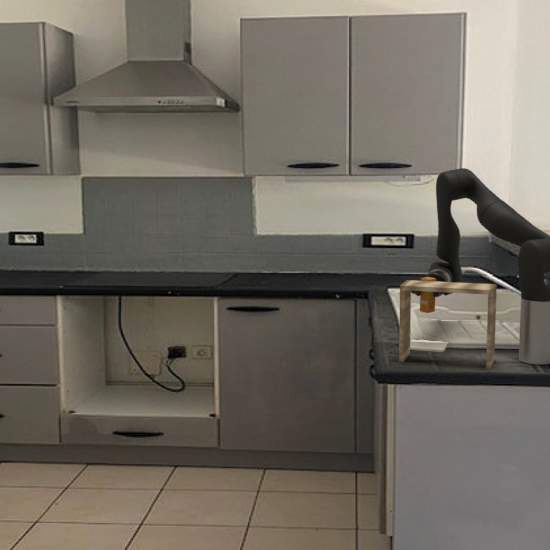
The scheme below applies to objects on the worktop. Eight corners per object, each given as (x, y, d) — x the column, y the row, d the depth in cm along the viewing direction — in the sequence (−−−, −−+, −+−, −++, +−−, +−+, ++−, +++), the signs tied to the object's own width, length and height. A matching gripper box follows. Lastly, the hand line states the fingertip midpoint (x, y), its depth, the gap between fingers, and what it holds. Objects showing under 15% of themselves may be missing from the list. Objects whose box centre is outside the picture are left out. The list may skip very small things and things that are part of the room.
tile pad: (449, 343, 247) (449, 341, 247) (443, 352, 237) (443, 350, 237) (412, 340, 251) (412, 338, 251) (404, 349, 240) (404, 347, 240)
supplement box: (428, 313, 240) (428, 279, 238) (419, 311, 242) (419, 277, 241) (436, 311, 242) (436, 277, 240) (427, 309, 244) (427, 276, 243)
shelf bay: (494, 360, 227) (496, 284, 224) (490, 369, 219) (493, 290, 215) (405, 353, 235) (406, 280, 232) (399, 361, 227) (399, 285, 224)
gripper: (413, 269, 256) (401, 279, 240) (460, 271, 251) (451, 281, 235) (413, 293, 257) (401, 304, 242) (459, 295, 252) (451, 307, 237)
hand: (426, 293), depth 239 cm, fingers closed on supplement box, 4 cm apart
